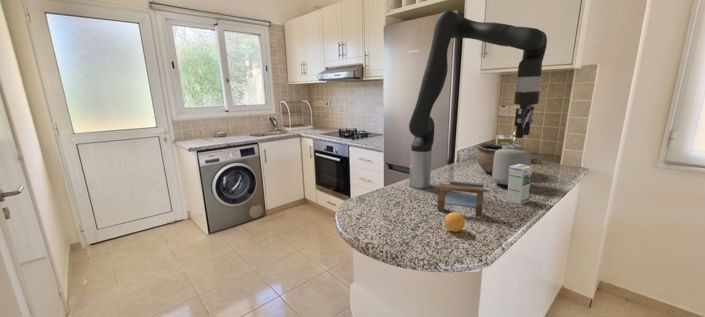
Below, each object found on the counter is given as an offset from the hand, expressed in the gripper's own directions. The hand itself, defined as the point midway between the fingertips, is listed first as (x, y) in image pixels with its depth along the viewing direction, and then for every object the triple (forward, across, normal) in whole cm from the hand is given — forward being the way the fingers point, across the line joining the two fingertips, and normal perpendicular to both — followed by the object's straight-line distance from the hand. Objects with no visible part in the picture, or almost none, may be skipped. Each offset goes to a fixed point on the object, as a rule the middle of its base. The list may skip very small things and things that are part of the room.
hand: (522, 136), depth 106 cm
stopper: (+27, -10, -23) cm, 36 cm away
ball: (+24, +34, -9) cm, 43 cm away
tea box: (+27, -80, -28) cm, 89 cm away
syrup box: (+27, -6, -1) cm, 28 cm away
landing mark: (+27, +6, -18) cm, 33 cm away
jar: (+27, -26, -9) cm, 39 cm away
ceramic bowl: (+27, -45, -20) cm, 56 cm away
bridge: (+27, +19, -14) cm, 36 cm away
